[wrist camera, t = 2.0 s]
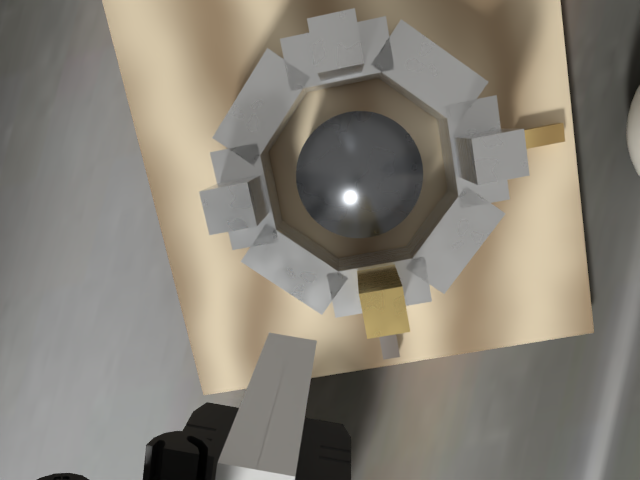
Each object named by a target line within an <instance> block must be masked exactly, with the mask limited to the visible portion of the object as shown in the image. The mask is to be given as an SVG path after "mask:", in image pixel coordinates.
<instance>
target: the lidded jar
mask: <svg viewBox="0 0 640 480" xmlns="http://www.w3.org/2000/svg"><path fill="white" fill-rule="evenodd" d="M626 134H627V146H628V150H629V154H630V158H631V160H632V163H633V165H634V167H635V170H636V171H637V173H638V175H639V176H640V85H639V87H638V89H637V90H636V93H635V95H634V98H633V100H632V102H631V106H630V110H629V114H628V118H627V129H626Z"/></svg>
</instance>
